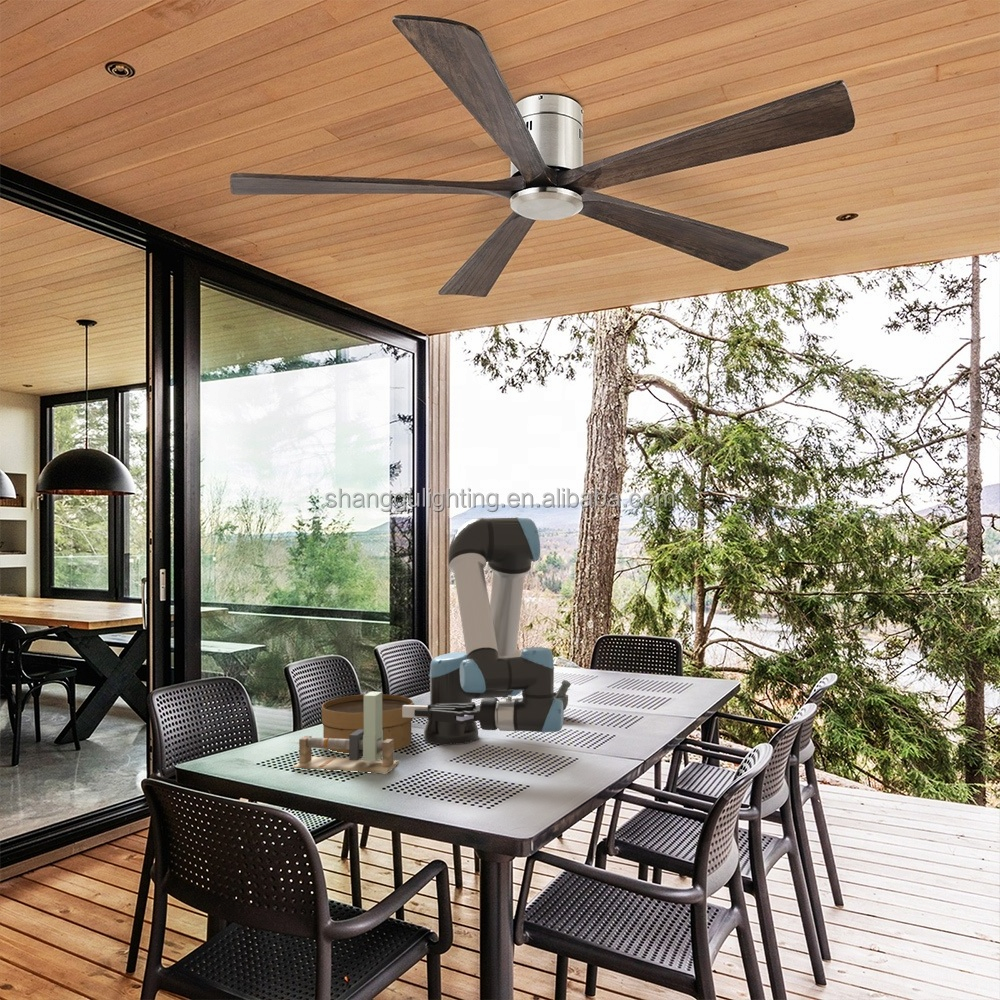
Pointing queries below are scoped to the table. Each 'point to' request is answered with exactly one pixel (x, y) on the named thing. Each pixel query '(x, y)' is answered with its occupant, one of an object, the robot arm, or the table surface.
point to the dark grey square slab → (355, 744)
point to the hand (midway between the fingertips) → (403, 711)
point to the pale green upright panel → (372, 725)
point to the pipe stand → (344, 763)
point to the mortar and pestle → (563, 693)
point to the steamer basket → (349, 717)
